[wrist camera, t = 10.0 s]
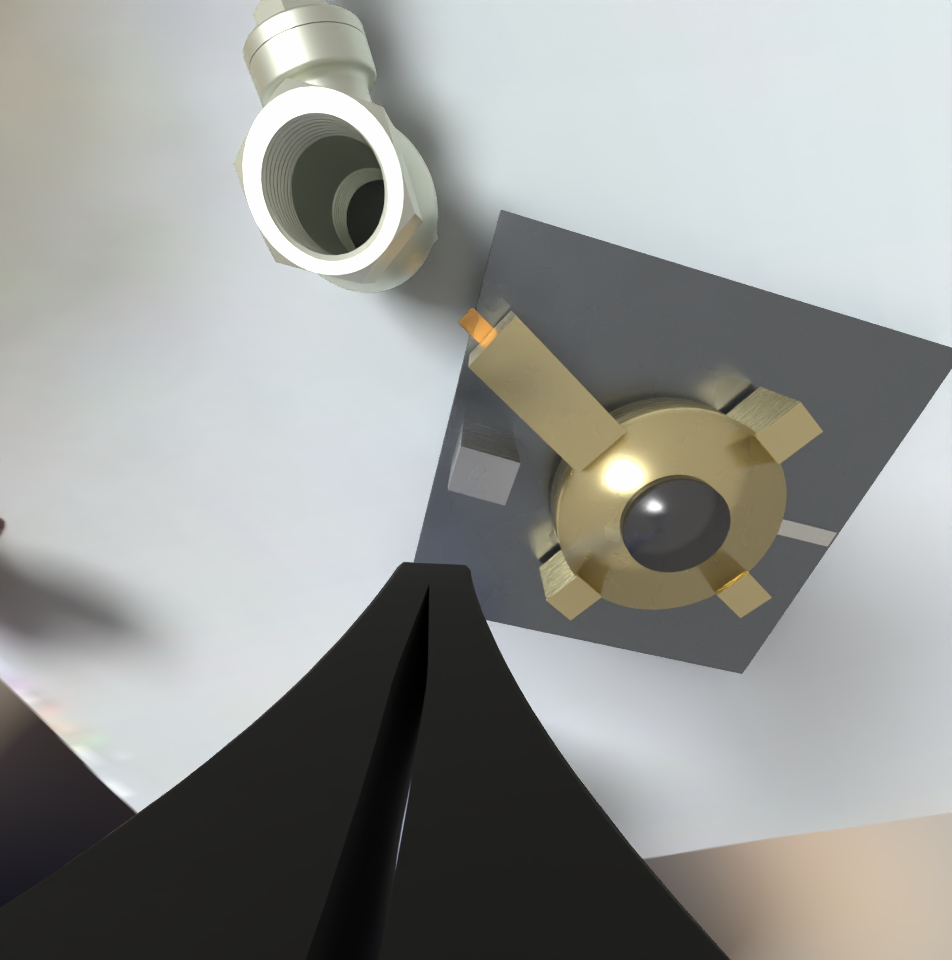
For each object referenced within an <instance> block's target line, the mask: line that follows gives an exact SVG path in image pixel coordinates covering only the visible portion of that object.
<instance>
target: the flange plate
mask: <svg viewBox="0 0 952 960" xmlns="http://www.w3.org/2000/svg"><path fill="white" fill-rule="evenodd" d="M510 310H511V311H512V312H513V313H514V314H515V315H516V316H517V317H518V318H519V319H520V320H521V321H522V322H523V323H524V324H525V325H526V326H527V327H528V328H529V329H530V330H531V331H532V333H533V334H534V335H535V336H536V337H537V338H538V339H539V340H540V341H541V342H542V343H543V344H544V345H545V346H546V347H547V348H548V349H549V350H550V352H551V353H552V354H553V355H554V356H555V357H556V358H557V359H558V360H559V361H560V362H561V363H562V364H563V365H564V366H565V367H566V368H567V370H568V371H569V372H570V373H571V374H572V375H573V376H574V377H575V378H576V379H577V380H578V381H579V382H580V383H581V384H582V385H583V386H584V387H585V389H586V390H587V391H588V392H589V393H590V394H591V395H592V396H593V397H594V398H595V399H596V400H597V401H598V402H599V403H600V404H601V405H602V406H603V408H604V409H605V410H606V411H607V412H608V413H609V412H611V411H613V410H615V409H618V408H620V407H622V406H624V405H627V404H630V403H633V402H636V401H641V400H645V399H650V398H661V397H676V398H685V399H690V400H695V401H698V402H701V403H704V404H707V405H709V406H711V407H713V408H715V409H717V410H719V411H721V412H722V413H724V414H727V413H729V412H730V411H731V410H732V409H734V408H735V407H736V406H737V405H738V404H740V403H741V402H742V401H743V400H745V399H746V398H747V397H748V396H749V395H751V394H752V393H753V392H754V391H756V390H757V389H758V388H759V387H763V388H765V389H768V390H771V391H773V392H776V393H779V394H781V395H784V396H786V397H789V398H792V399H794V400H797V401H800V402H801V403H802V404H803V406H804V407H805V408H806V410H807V411H808V412H809V414H810V415H811V416H812V417H813V419H814V420H815V421H816V423H817V424H818V425H819V427H820V428H821V429H822V431H823V432H822V433H820V434H819V435H818V436H816V437H815V438H814V439H812V440H811V441H810V442H808V443H807V444H806V445H804V446H803V447H802V448H800V449H799V450H798V451H796V452H795V453H794V454H792V455H791V456H790V457H788V458H787V459H786V460H784V461H783V462H782V463H780V464H781V466H782V468H783V472H784V476H785V480H786V490H787V496H786V508H785V512H784V517H783V520H782V523H781V526H780V529H779V531H778V533H777V535H776V537H775V539H774V541H773V543H772V545H771V546H770V547H769V549H768V550H767V552H766V553H765V555H764V556H763V557H762V558H761V560H760V561H759V562H758V563H757V564H756V565H755V566H754V567H753V568H752V569H751V570H750V571H749V573H750V574H751V575H752V576H753V577H754V578H755V580H756V581H757V582H758V583H759V584H760V585H761V586H762V587H763V588H764V589H765V590H766V591H767V593H768V594H769V595H770V596H771V597H772V598H771V599H769V600H768V601H766V602H765V603H763V604H762V605H760V606H758V607H757V608H755V609H754V610H752V611H751V612H749V613H748V614H746V615H745V616H743V617H742V618H740V617H739V616H738V615H737V614H736V613H735V612H734V611H733V610H732V609H730V608H729V607H728V606H727V605H726V604H725V603H724V602H723V601H722V600H721V599H720V598H719V597H718V596H717V595H716V594H715V595H713V596H711V597H709V598H707V599H704V600H702V601H699V602H696V603H693V604H689V605H685V606H682V607H676V608H670V609H657V610H650V609H637V608H630V607H626V606H622V605H618V604H615V603H613V602H610V601H608V600H605V599H603V598H602V597H601V598H600V599H599V600H597V601H596V602H595V603H593V604H592V605H591V606H589V607H588V608H587V609H585V610H584V611H583V612H581V613H580V614H579V615H577V616H576V617H575V618H573V619H572V620H571V621H570V620H569V619H568V618H567V617H566V616H564V615H563V614H562V613H561V612H560V611H558V610H557V609H556V608H555V607H553V606H552V605H551V604H550V603H549V602H547V601H546V596H545V591H544V587H543V582H542V577H541V573H540V568H539V567H540V566H542V565H543V564H544V563H545V562H546V561H548V560H549V559H550V558H551V557H553V556H554V555H555V554H556V553H557V552H559V551H560V550H561V547H560V544H559V540H558V537H557V534H556V531H555V527H554V524H553V521H552V515H551V510H550V496H551V488H552V483H553V479H554V476H555V473H556V470H557V468H558V466H559V463H560V461H561V460H562V457H561V456H560V455H559V454H558V453H557V452H556V451H555V450H554V449H553V448H551V447H550V446H549V445H548V444H547V443H546V442H545V441H544V440H543V439H542V438H541V437H540V436H539V435H538V434H537V433H536V432H535V431H534V430H533V429H532V428H531V427H530V426H529V425H528V424H527V423H526V422H525V421H524V420H523V419H522V418H520V417H519V416H518V415H517V414H516V413H515V412H514V411H513V410H512V409H511V408H510V407H509V406H508V405H507V404H506V403H505V402H504V401H503V400H502V399H501V398H500V397H499V396H498V395H497V394H496V393H495V392H494V391H493V390H492V389H491V388H490V387H488V386H487V385H486V384H485V383H484V382H483V381H482V380H481V379H480V378H479V377H478V376H477V375H476V374H475V373H474V372H473V371H472V370H471V369H470V368H469V367H468V365H469V356H470V353H471V352H472V351H473V350H474V349H475V348H476V347H477V346H478V345H479V344H480V343H481V341H482V340H483V339H484V338H485V337H486V336H487V335H488V334H489V333H490V332H491V331H492V330H493V329H494V327H495V326H496V325H497V324H498V323H499V322H500V321H501V320H502V319H503V318H504V317H505V316H506V315H507V313H508V312H509V311H510ZM458 323H459V324H460V325H461V326H462V327H463V328H464V329H465V330H466V331H467V332H468V333H469V334H470V336H469V340H468V344H467V348H466V352H465V356H464V360H463V364H462V368H461V372H460V376H459V380H458V384H457V388H456V393H455V397H454V401H453V405H452V409H451V413H450V417H449V421H448V425H447V429H446V433H445V437H444V441H443V445H442V449H441V453H440V457H439V461H438V466H437V470H436V474H435V478H434V482H433V486H432V490H431V494H430V498H429V502H428V506H427V510H426V514H425V518H424V522H423V526H422V530H421V534H420V539H419V543H418V547H417V551H416V555H415V559H414V563H434V564H458V565H466V566H467V567H468V568H469V569H470V570H471V576H472V581H473V585H474V589H475V592H476V595H477V598H478V601H479V604H480V607H481V610H482V612H483V615H484V617H485V620H489V621H494V622H498V623H503V624H508V625H513V626H517V627H522V628H527V629H532V630H536V631H541V632H546V633H551V634H555V635H560V636H565V637H570V638H574V639H579V640H584V641H589V642H593V643H598V644H603V645H608V646H612V647H617V648H622V649H627V650H631V651H636V652H641V653H646V654H650V655H655V656H660V657H665V658H669V659H674V660H679V661H684V662H688V663H693V664H698V665H703V666H707V667H712V668H717V669H722V670H726V671H731V672H736V673H741V674H742V673H743V672H744V670H745V669H746V668H747V666H748V665H749V663H750V662H751V660H752V659H753V657H754V656H755V654H756V653H757V652H758V650H759V649H760V647H761V646H762V644H763V643H764V641H765V640H766V638H767V637H768V635H769V634H770V633H771V631H772V630H773V628H774V627H775V625H776V624H777V622H778V621H779V619H780V618H781V617H782V615H783V614H784V612H785V611H786V609H787V608H788V606H789V605H790V603H791V602H792V601H793V599H794V598H795V596H796V595H797V593H798V592H799V590H800V589H801V587H802V586H803V585H804V583H805V582H806V580H807V579H808V577H809V576H810V574H811V573H812V571H813V570H814V568H815V567H816V566H817V564H818V563H819V561H820V560H821V558H822V557H823V555H824V554H825V552H826V551H827V550H828V548H829V547H830V545H831V544H832V542H833V541H834V539H835V538H836V536H837V535H838V534H839V532H840V531H841V529H842V528H843V526H844V525H845V523H846V522H847V520H848V519H849V517H850V516H851V515H852V513H853V512H854V510H855V509H856V507H857V506H858V504H859V503H860V501H861V500H862V499H863V497H864V496H865V494H866V493H867V491H868V490H869V488H870V487H871V485H872V484H873V483H874V481H875V480H876V478H877V477H878V475H879V474H880V472H881V471H882V469H883V468H884V466H885V465H886V464H887V462H888V461H889V459H890V458H891V456H892V455H893V453H894V452H895V450H896V449H897V448H898V446H899V445H900V443H901V442H902V440H903V439H904V437H905V436H906V434H907V433H908V432H909V430H910V429H911V427H912V426H913V424H914V423H915V421H916V420H917V418H918V417H919V416H920V414H921V413H922V411H923V410H924V408H925V407H926V405H927V404H928V402H929V401H930V399H931V398H932V397H933V395H934V394H935V392H936V391H937V389H938V388H939V386H940V385H941V383H942V382H943V381H944V379H945V378H946V376H947V375H948V373H949V372H950V370H951V369H952V348H951V347H948V346H944V345H941V344H938V343H935V342H931V341H928V340H925V339H922V338H918V337H915V336H912V335H909V334H905V333H902V332H899V331H895V330H892V329H889V328H886V327H882V326H879V325H876V324H873V323H869V322H866V321H863V320H860V319H856V318H853V317H850V316H846V315H843V314H840V313H837V312H833V311H830V310H827V309H824V308H820V307H817V306H814V305H811V304H807V303H804V302H801V301H797V300H794V299H791V298H788V297H784V296H781V295H778V294H775V293H771V292H768V291H765V290H762V289H758V288H755V287H752V286H748V285H745V284H742V283H739V282H735V281H732V280H729V279H726V278H722V277H719V276H716V275H713V274H709V273H706V272H703V271H699V270H696V269H693V268H690V267H686V266H683V265H680V264H677V263H673V262H670V261H667V260H664V259H660V258H657V257H654V256H650V255H647V254H644V253H641V252H637V251H634V250H631V249H628V248H624V247H621V246H618V245H615V244H611V243H608V242H605V241H601V240H598V239H595V238H592V237H588V236H585V235H582V234H579V233H575V232H572V231H569V230H566V229H562V228H559V227H556V226H552V225H549V224H546V223H543V222H539V221H536V220H533V219H530V218H526V217H523V216H520V215H517V214H513V213H510V212H507V211H503V210H501V211H500V214H499V218H498V222H497V226H496V230H495V234H494V238H493V242H492V247H491V251H490V255H489V259H488V263H487V267H486V271H485V275H484V279H483V283H482V287H481V291H480V295H479V299H478V303H477V307H476V310H475V309H474V308H473V307H471V308H470V310H469V311H468V312H467V313H466V314H465V315H464V317H463V318H462V319H461V320H460V321H459V322H458Z"/></svg>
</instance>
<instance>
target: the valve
mask: <svg viewBox="0 0 952 960" xmlns="http://www.w3.org/2000/svg"><path fill="white" fill-rule="evenodd" d="M253 16H254V18H255V21H256V24H257V27H256V28H255V29H254V30H253V31H252V32H251V33H250V35H249V36H248V38H247V40H246V42H245V46H244V49H243V52H244V60H245V62H246V65H247V68H248V70H249V73H250V75H251V77H252V80H253V83H254V85H255V88H256V91H257V93H258V96H259V98H260V101H261V103H262V106H263V109H262V110H261V112H260V113H259V115H258V116H257V118H256V119H255V121H254V123H253V125H252V127H251V129H250V130H249V132H248V134H247V136H246V138H245V140H244V141H243V144H242V146H241V148H240V150H239V152H238V154H237V157H236V159H235V161H234V166H235V169H236V172H237V175H238V178H239V181H240V184H241V187H242V189H243V192H244V194H245V197H246V199H247V202H248V204H249V207H250V209H251V212H252V214H253V216H254V218H255V221H256V223H257V225H258V227H259V229H260V232H261V234H262V236H263V238H264V240H265V242H266V244H267V246H268V248H269V250H270V252H271V254H272V256H273V258H274V260H275V261H276V262H278V263H282V264H285V265H289V266H293V267H296V268H300V269H304V270H308V271H312V272H315V273H317V274H318V275H320V276H321V277H322V278H324V279H325V280H327V281H329V282H330V283H332V284H335V285H337V286H339V287H341V288H344V289H347V290H351V291H355V292H364V293H375V292H382V291H386V290H389V289H392V288H394V287H397V286H399V285H401V284H402V283H404V282H405V281H407V280H408V279H409V278H411V277H412V276H413V275H414V274H415V273H416V272H417V271H418V270H419V269H420V268H421V266H422V265H423V263H424V262H425V260H426V259H427V257H428V255H429V253H430V251H431V248H432V246H433V245H434V244H435V242H436V241H437V240H438V239H439V237H438V234H437V224H438V204H437V196H436V192H435V187H434V183H433V180H432V177H431V174H430V172H429V170H428V168H427V166H426V164H425V162H424V160H423V158H422V157H421V155H420V154H419V152H418V151H417V149H416V148H415V147H414V145H413V144H412V143H411V142H410V141H409V140H408V138H406V137H405V136H404V135H403V134H402V133H401V132H400V131H399V130H397V129H396V128H395V127H394V126H393V124H392V122H391V121H390V119H389V117H388V115H387V113H386V111H385V110H384V108H383V107H382V106H380V105H377V104H374V103H372V101H371V97H370V94H369V92H370V91H371V90H372V88H373V86H374V85H375V83H376V78H377V72H376V69H375V65H374V62H373V59H372V55H371V52H370V49H369V45H368V42H367V39H366V35H365V32H364V29H363V25H362V23H361V22H360V20H359V19H358V17H357V16H356V15H355V14H353V13H352V12H351V11H349V10H347V9H345V8H342V7H339V6H336V5H329V4H328V2H327V0H261V2H260V3H259V4H258V6H257V8H256V10H255V12H254V14H253ZM375 180H384V190H385V199H384V208H383V212H382V215H381V218H380V221H379V224H378V226H377V228H376V229H375V231H374V233H373V234H372V236H371V237H370V238H369V239H368V240H367V241H366V242H365V243H364V244H363V245H361V246H360V247H358V248H356V247H355V245H354V244H353V242H352V240H351V238H350V235H349V232H348V228H347V209H348V205H349V203H350V200H351V198H352V196H353V195H354V194H355V192H356V191H357V190H358V189H359V188H360V187H361V186H362V185H364V184H366V183H368V182H370V181H375Z"/></svg>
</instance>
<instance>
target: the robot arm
mask: <svg viewBox="0 0 952 960" xmlns="http://www.w3.org/2000/svg"><path fill="white" fill-rule="evenodd" d="M0 960H730V959H729V958H728V957H727V955H726V954H725V953H724V952H723V951H722V950H721V949H720V948H719V947H718V945H717V944H716V943H715V942H714V941H713V940H712V939H711V938H710V936H708V934H707V933H706V932H705V931H704V930H703V929H702V927H701V926H700V925H699V924H698V923H697V922H696V921H695V920H694V919H693V917H692V916H691V915H690V914H689V913H688V912H687V911H686V910H685V909H684V907H683V906H682V905H681V904H680V903H679V902H678V901H677V900H676V898H675V897H674V896H673V895H672V894H671V892H670V891H669V890H668V889H667V888H666V886H665V885H664V884H663V883H662V882H661V880H660V879H659V878H658V877H657V876H656V875H655V873H654V872H653V871H652V870H651V869H650V868H649V866H648V865H647V864H646V863H645V862H644V860H643V859H642V858H641V857H640V856H639V854H638V853H637V852H636V851H635V850H634V848H633V847H632V846H631V845H630V844H629V842H628V841H627V840H626V839H625V837H624V836H623V835H622V833H621V832H620V831H619V830H618V828H617V827H616V826H615V824H614V823H613V822H612V820H611V819H610V818H609V817H608V815H607V814H606V813H605V811H604V810H603V809H602V808H601V806H600V805H599V804H598V802H597V801H596V800H595V798H594V797H593V796H592V795H591V793H590V792H589V791H588V789H587V788H586V787H585V786H584V784H583V783H582V782H581V780H580V779H579V778H578V776H577V775H576V774H575V772H574V771H573V770H572V768H571V767H570V765H569V764H568V763H567V761H566V760H565V758H564V757H563V755H562V754H561V752H560V751H559V750H558V748H557V747H556V745H555V744H554V742H553V741H552V739H551V738H550V736H549V735H548V733H547V732H546V730H545V729H544V727H543V726H542V724H541V722H540V721H539V719H538V718H537V716H536V715H535V713H534V712H533V710H532V708H531V707H530V705H529V703H528V702H527V700H526V698H525V697H524V695H523V693H522V691H521V690H520V688H519V686H518V685H517V683H516V681H515V679H514V677H513V675H512V673H511V672H510V670H509V668H508V666H507V664H506V662H505V660H504V658H503V656H502V654H501V652H500V650H499V648H498V646H497V644H496V642H495V640H494V637H493V635H492V633H491V631H490V629H489V626H488V624H487V622H486V620H485V617H484V615H483V612H482V610H481V607H480V604H479V601H478V598H477V595H476V592H475V589H474V585H473V581H472V576H471V570H470V569H469V568H468V567H467V566H466V565H458V564H434V563H410V562H403V563H402V564H401V565H399V566H398V567H397V569H396V570H395V572H394V573H393V574H392V576H391V577H390V579H389V580H388V581H387V583H386V584H385V585H384V587H383V588H382V589H381V591H380V592H379V593H378V595H377V596H376V597H375V598H374V600H373V601H372V602H371V603H370V605H369V606H368V607H367V608H366V609H365V611H364V612H363V613H362V614H361V615H360V616H359V618H358V619H357V620H356V621H355V622H354V623H353V625H352V626H351V627H350V628H349V629H348V631H347V632H346V633H345V634H344V635H343V636H342V637H341V638H340V639H339V641H338V642H337V643H336V644H335V645H334V646H333V647H332V648H331V649H330V650H329V651H328V652H327V653H326V654H325V655H324V656H323V657H322V658H321V659H320V660H319V661H318V663H317V664H316V665H315V666H314V667H313V668H312V669H311V670H310V671H309V672H308V673H307V674H306V675H305V676H304V677H303V678H302V679H301V680H300V681H299V682H298V683H297V684H296V685H295V686H293V687H292V688H291V689H290V690H289V691H288V692H287V693H286V694H285V695H284V696H283V697H282V698H281V699H280V700H279V701H277V702H276V703H275V704H274V705H273V706H272V707H271V708H270V709H268V710H267V711H266V712H265V713H264V714H263V715H262V716H261V717H260V718H258V719H257V720H256V721H255V722H254V723H253V724H252V725H250V726H249V727H248V728H247V729H246V730H244V731H243V732H242V733H241V734H239V735H238V736H237V737H236V738H235V739H233V740H232V741H231V742H230V743H229V744H227V745H226V746H225V747H224V748H223V749H221V750H220V751H219V752H218V753H216V754H215V755H214V756H213V757H212V758H210V759H209V760H208V761H207V762H206V763H204V764H203V765H202V766H200V767H199V768H198V769H197V770H195V771H194V772H193V773H191V774H190V775H189V776H188V777H186V778H185V779H184V780H182V781H181V782H180V783H179V784H177V785H176V786H175V787H173V788H172V789H171V790H169V791H168V792H167V793H165V794H164V795H162V796H161V797H160V798H158V799H157V800H156V801H154V802H153V803H151V804H150V805H149V806H147V807H146V808H144V809H143V810H142V811H140V812H139V813H138V814H136V815H135V816H133V817H132V818H131V819H129V820H128V821H126V822H125V823H124V824H122V825H121V826H120V827H118V828H117V829H115V830H114V831H113V832H111V833H110V834H108V835H107V836H106V837H104V838H103V839H102V840H100V841H99V842H97V843H96V844H95V845H93V846H92V847H90V848H89V849H88V850H86V851H85V852H83V853H82V854H80V855H79V856H77V857H76V858H75V859H73V860H72V861H70V862H69V863H67V864H66V865H64V866H63V867H62V868H60V869H59V870H57V871H56V872H54V873H53V874H51V875H50V876H48V877H47V878H45V879H44V880H43V881H41V882H39V883H38V884H36V885H35V886H34V887H32V888H30V889H29V890H27V891H26V892H24V893H23V894H21V895H19V896H18V897H16V898H15V899H13V900H12V901H10V902H8V903H7V904H6V905H4V906H2V907H1V908H0Z"/></svg>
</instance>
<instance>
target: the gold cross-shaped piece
mask: <svg viewBox="0 0 952 960" xmlns="http://www.w3.org/2000/svg"><path fill="white" fill-rule="evenodd" d="M468 367H469V368H470V369H471V370H472V371H473V372H474V373H475V374H476V375H477V376H478V377H479V378H480V379H481V380H482V381H483V382H484V383H485V384H486V385H487V386H488V387H490V388H491V389H492V390H493V391H494V392H495V393H496V394H497V395H498V396H499V397H500V398H501V399H502V400H503V401H504V402H505V403H506V404H507V405H508V406H509V407H510V408H511V409H512V410H513V411H514V412H515V413H516V414H517V415H518V416H519V417H520V418H522V419H523V420H524V421H525V422H526V423H527V424H528V425H529V426H530V427H531V428H532V429H533V430H534V431H535V432H536V433H537V434H538V435H539V436H540V437H541V438H542V439H543V440H544V441H545V442H546V443H547V444H548V445H549V446H550V447H551V448H553V449H554V450H555V451H556V452H557V453H558V454H559V455H560V456H561V457H562V460H561V461H560V463H559V466H558V468H557V470H556V473H555V476H554V479H553V483H552V488H551V496H550V510H551V515H552V521H553V524H554V527H555V531H556V534H557V537H558V540H559V544H560V547H561V550H560V551H559V552H557V553H556V554H555V555H554V556H553V557H551V558H550V559H549V560H548V561H546V562H545V563H544V564H543V565H542V566H540V567H539V568H540V573H541V577H542V582H543V587H544V591H545V596H546V601H547V602H549V603H550V604H551V605H552V606H553V607H555V608H556V609H557V610H558V611H560V612H561V613H562V614H563V615H564V616H566V617H567V618H568V619H569V620H570V621H571V620H572V619H573V618H575V617H576V616H577V615H579V614H580V613H581V612H583V611H584V610H585V609H587V608H588V607H589V606H591V605H592V604H593V603H595V602H596V601H597V600H599V599H600V598H601V597H602V598H603V599H605V600H608V601H610V602H613V603H615V604H618V605H622V606H626V607H630V608H637V609H650V610H657V609H670V608H676V607H682V606H685V605H689V604H693V603H696V602H699V601H702V600H704V599H707V598H709V597H711V596H713V595H715V594H716V595H717V596H718V597H719V598H720V599H721V600H722V601H723V602H724V603H725V604H726V605H727V606H728V607H729V608H730V609H732V610H733V611H734V612H735V613H736V614H737V615H738V616H739V617H740V618H742V617H743V616H745V615H746V614H748V613H749V612H751V611H752V610H754V609H755V608H757V607H758V606H760V605H762V604H763V603H765V602H766V601H768V600H769V599H771V598H772V597H771V596H770V595H769V594H768V593H767V591H766V590H765V589H764V588H763V587H762V586H761V585H760V584H759V583H758V582H757V581H756V580H755V578H754V577H753V576H752V575H751V574H750V573H749V571H750V570H751V569H752V568H753V567H754V566H755V565H756V564H757V563H758V562H759V561H760V560H761V558H762V557H763V556H764V555H765V553H766V552H767V550H768V549H769V547H770V546H771V545H772V543H773V541H774V539H775V537H776V535H777V533H778V531H779V529H780V526H781V523H782V520H783V517H784V512H785V508H786V496H787V490H786V480H785V476H784V472H783V468H782V466H781V464H780V463H782V462H783V461H784V460H786V459H787V458H788V457H790V456H791V455H792V454H794V453H795V452H796V451H798V450H799V449H800V448H802V447H803V446H804V445H806V444H807V443H808V442H810V441H811V440H812V439H814V438H815V437H816V436H818V435H819V434H820V433H822V432H823V431H822V429H821V428H820V427H819V425H818V424H817V423H816V421H815V420H814V419H813V417H812V416H811V415H810V414H809V412H808V411H807V410H806V408H805V407H804V406H803V404H802V403H801V402H800V401H797V400H794V399H792V398H789V397H786V396H784V395H781V394H779V393H776V392H773V391H771V390H768V389H765V388H763V387H759V388H758V389H757V390H756V391H754V392H753V393H752V394H751V395H749V396H748V397H747V398H746V399H745V400H743V401H742V402H741V403H740V404H738V405H737V406H736V407H735V408H734V409H732V410H731V411H730V412H729V413H727V414H724V413H722V412H721V411H719V410H717V409H715V408H713V407H711V406H709V405H707V404H704V403H701V402H698V401H695V400H690V399H685V398H676V397H661V398H650V399H645V400H641V401H636V402H633V403H630V404H627V405H624V406H622V407H620V408H618V409H615V410H613V411H611V412H609V413H608V412H607V411H606V410H605V409H604V408H603V406H602V405H601V404H600V403H599V402H598V401H597V400H596V399H595V398H594V397H593V396H592V395H591V394H590V393H589V392H588V391H587V390H586V389H585V387H584V386H583V385H582V384H581V383H580V382H579V381H578V380H577V379H576V378H575V377H574V376H573V375H572V374H571V373H570V372H569V371H568V370H567V368H566V367H565V366H564V365H563V364H562V363H561V362H560V361H559V360H558V359H557V358H556V357H555V356H554V355H553V354H552V353H551V352H550V350H549V349H548V348H547V347H546V346H545V345H544V344H543V343H542V342H541V341H540V340H539V339H538V338H537V337H536V336H535V335H534V334H533V333H532V331H531V330H530V329H529V328H528V327H527V326H526V325H525V324H524V323H523V322H522V321H521V320H520V319H519V318H518V317H517V316H516V315H515V314H514V313H513V312H512V311H511V310H510V311H509V312H508V313H507V315H506V316H505V317H504V318H503V319H502V320H501V321H500V322H499V323H498V324H497V325H496V326H495V327H494V329H493V330H492V331H491V332H490V333H489V334H488V335H487V336H486V337H485V338H484V339H483V340H482V341H481V343H480V344H479V345H478V346H477V347H476V348H475V349H474V350H473V351H472V352H471V353H470V356H469V365H468Z"/></svg>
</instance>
